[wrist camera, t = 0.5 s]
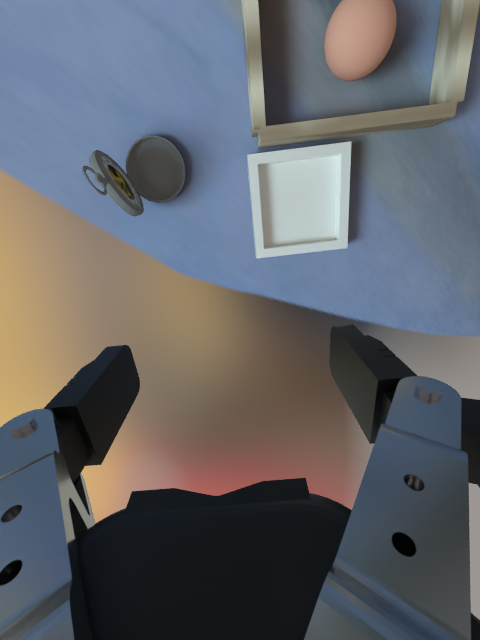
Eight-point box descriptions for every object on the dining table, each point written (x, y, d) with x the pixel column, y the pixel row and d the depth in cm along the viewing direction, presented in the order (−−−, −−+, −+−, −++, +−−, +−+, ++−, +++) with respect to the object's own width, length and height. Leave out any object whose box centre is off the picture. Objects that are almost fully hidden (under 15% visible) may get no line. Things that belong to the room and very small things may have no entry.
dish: (246, 158, 31) (247, 154, 29) (343, 146, 30) (351, 141, 28) (255, 255, 35) (256, 258, 33) (340, 245, 35) (347, 248, 33)
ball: (316, 19, 26) (337, -32, 21) (378, 10, 26) (416, -44, 21) (316, 94, 29) (335, 67, 23) (373, 87, 28) (407, 57, 23)
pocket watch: (195, 156, 31) (177, 133, 21) (168, 226, 34) (142, 232, 24) (126, 117, 29) (74, 74, 20) (104, 193, 32) (50, 187, 23)
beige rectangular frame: (238, -31, 25) (239, -66, 22) (463, -64, 24) (497, -106, 21) (253, 149, 30) (254, 141, 27) (437, 125, 30) (461, 115, 27)
